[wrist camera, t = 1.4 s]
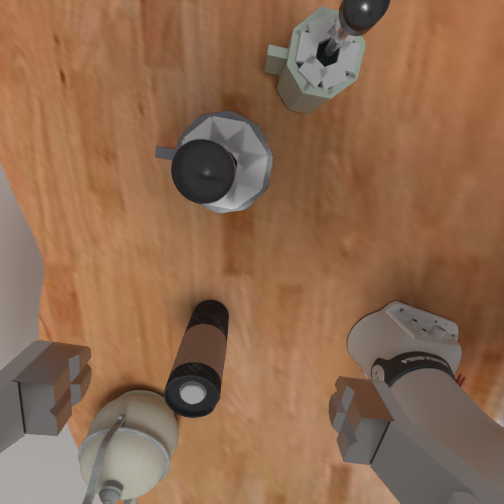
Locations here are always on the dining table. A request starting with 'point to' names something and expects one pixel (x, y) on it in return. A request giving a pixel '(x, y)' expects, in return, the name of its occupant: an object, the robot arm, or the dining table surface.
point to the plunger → (203, 171)
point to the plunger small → (356, 20)
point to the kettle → (128, 447)
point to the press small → (314, 62)
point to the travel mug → (199, 362)
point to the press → (242, 150)
